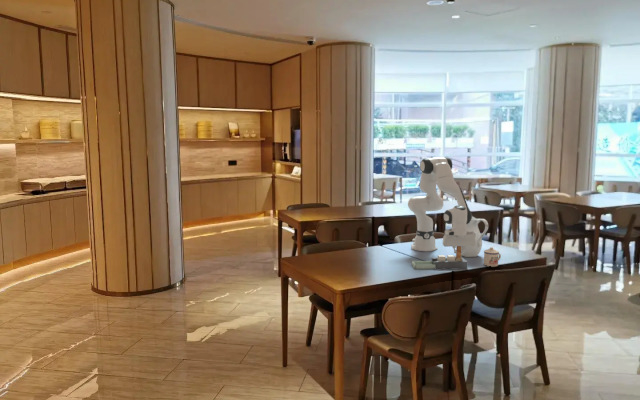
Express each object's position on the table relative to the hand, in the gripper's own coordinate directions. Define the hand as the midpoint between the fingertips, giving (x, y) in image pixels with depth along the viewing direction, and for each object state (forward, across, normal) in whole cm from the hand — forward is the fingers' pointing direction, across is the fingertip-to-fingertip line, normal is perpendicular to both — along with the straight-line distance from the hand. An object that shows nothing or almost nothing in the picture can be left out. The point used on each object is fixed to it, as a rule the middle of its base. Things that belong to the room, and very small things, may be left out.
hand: (458, 253), depth 319 cm
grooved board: (+9, +6, 0) cm, 10 cm away
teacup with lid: (+9, -23, -3) cm, 25 cm away
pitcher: (+9, -17, -25) cm, 32 cm away
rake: (+5, 0, 0) cm, 5 cm away
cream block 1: (+6, +11, 0) cm, 12 cm away
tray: (+9, +22, 0) cm, 24 cm away
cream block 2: (+6, +5, 0) cm, 7 cm away
